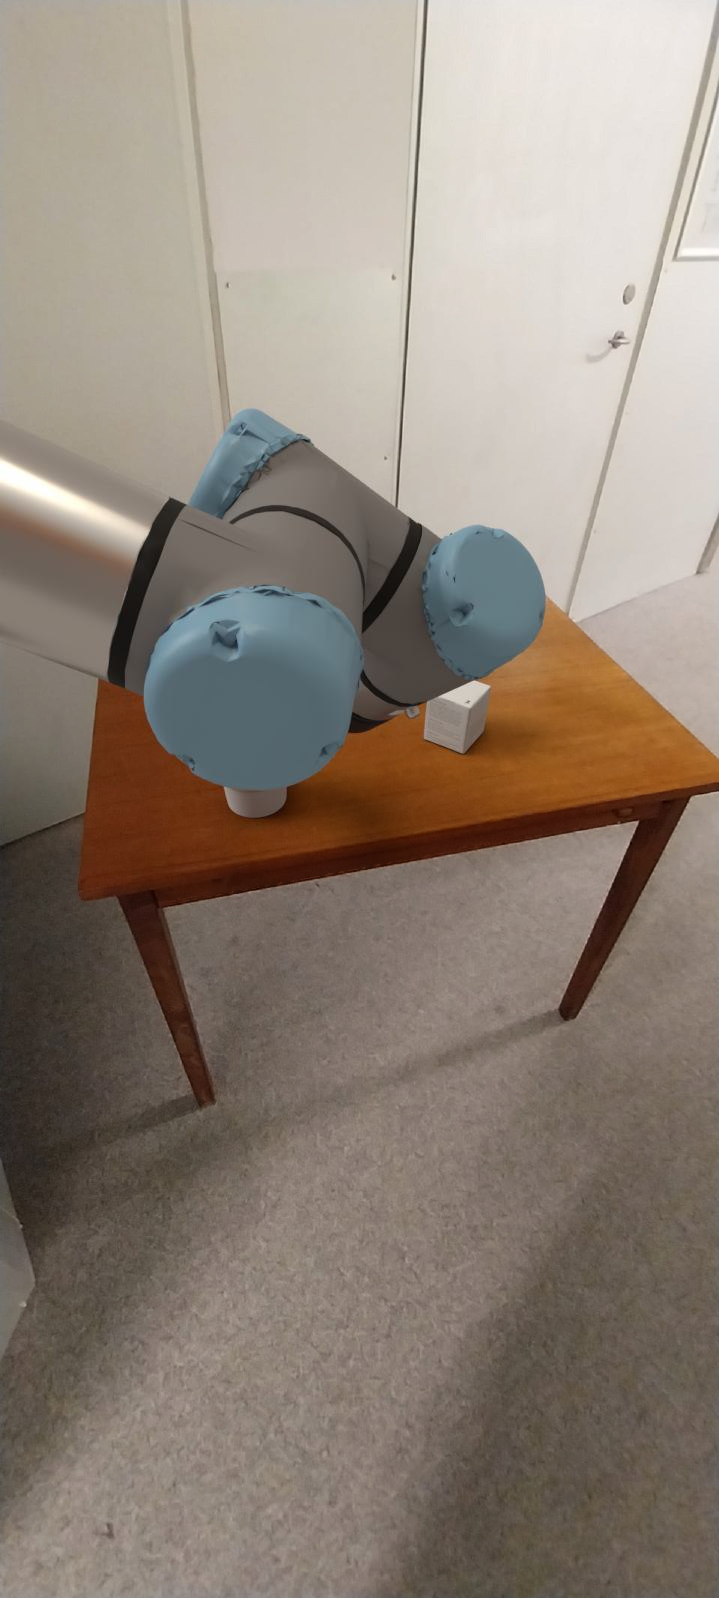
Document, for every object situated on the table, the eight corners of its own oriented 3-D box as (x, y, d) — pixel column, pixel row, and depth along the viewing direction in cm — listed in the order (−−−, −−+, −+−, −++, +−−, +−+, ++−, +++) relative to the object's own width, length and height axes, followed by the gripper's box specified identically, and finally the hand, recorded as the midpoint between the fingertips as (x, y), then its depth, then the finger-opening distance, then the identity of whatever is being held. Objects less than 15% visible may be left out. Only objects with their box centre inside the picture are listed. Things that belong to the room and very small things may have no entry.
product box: (484, 732, 88) (493, 685, 83) (463, 756, 85) (471, 708, 80) (444, 716, 91) (450, 670, 86) (421, 738, 87) (426, 691, 82)
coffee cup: (208, 784, 80) (189, 676, 69) (280, 764, 82) (272, 659, 72) (231, 834, 74) (213, 724, 63) (307, 811, 76) (302, 702, 66)
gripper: (244, 787, 43) (176, 821, 62) (507, 666, 55) (382, 726, 73) (193, 681, 42) (140, 748, 61) (469, 581, 54) (354, 663, 73)
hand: (272, 736), depth 67 cm, fingers open, 13 cm apart
